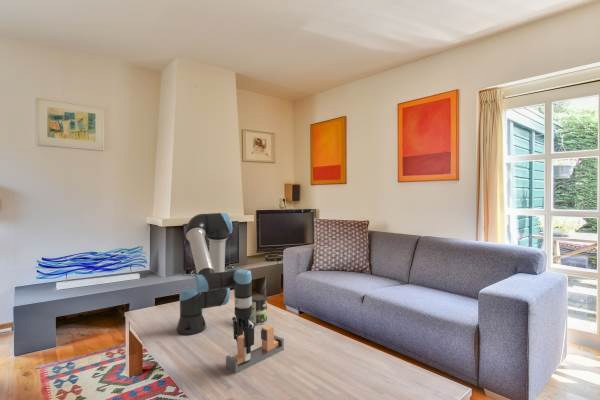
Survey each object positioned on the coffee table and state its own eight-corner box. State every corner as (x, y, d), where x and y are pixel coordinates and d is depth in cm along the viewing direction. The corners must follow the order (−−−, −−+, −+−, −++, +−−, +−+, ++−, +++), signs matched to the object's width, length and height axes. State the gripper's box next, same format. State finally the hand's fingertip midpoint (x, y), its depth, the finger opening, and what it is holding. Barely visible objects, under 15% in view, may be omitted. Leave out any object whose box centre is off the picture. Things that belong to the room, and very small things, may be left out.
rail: (226, 367, 144) (225, 356, 143) (273, 344, 164) (273, 334, 164) (235, 373, 139) (235, 361, 139) (283, 349, 159) (283, 339, 159)
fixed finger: (260, 349, 156) (260, 328, 156) (272, 343, 162) (272, 323, 161) (266, 351, 153) (265, 330, 153) (278, 345, 159) (278, 325, 158)
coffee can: (269, 318, 198) (269, 295, 197) (264, 325, 188) (263, 300, 187) (253, 317, 200) (252, 294, 199) (247, 324, 190) (246, 299, 189)
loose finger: (232, 361, 144) (231, 338, 144) (246, 354, 150) (246, 333, 149) (237, 364, 141) (237, 341, 141) (252, 357, 147) (251, 335, 147)
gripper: (224, 303, 149) (225, 354, 149) (248, 312, 137) (249, 368, 138) (238, 299, 154) (239, 348, 155) (262, 308, 142) (263, 361, 143)
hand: (243, 358), depth 146 cm, fingers closed on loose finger, 4 cm apart
